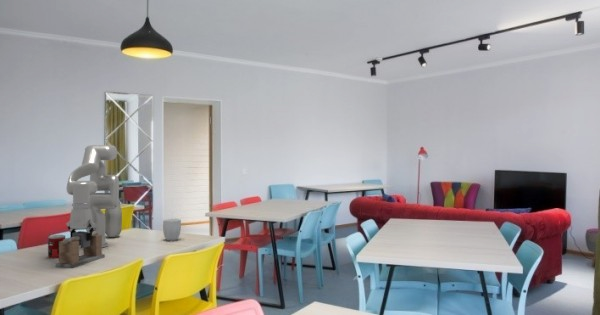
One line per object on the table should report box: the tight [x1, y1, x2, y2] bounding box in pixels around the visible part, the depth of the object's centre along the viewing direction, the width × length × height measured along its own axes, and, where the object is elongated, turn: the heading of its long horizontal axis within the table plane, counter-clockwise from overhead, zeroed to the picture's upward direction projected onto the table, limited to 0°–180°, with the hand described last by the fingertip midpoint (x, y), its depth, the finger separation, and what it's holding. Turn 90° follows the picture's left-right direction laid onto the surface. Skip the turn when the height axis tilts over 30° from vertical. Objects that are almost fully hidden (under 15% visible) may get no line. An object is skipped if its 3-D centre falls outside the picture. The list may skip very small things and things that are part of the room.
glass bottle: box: [104, 199, 123, 238], centre depth 275 cm, size 10×10×28 cm
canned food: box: [47, 234, 66, 259], centre depth 223 cm, size 8×8×11 cm
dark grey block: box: [72, 230, 90, 249], centre depth 214 cm, size 6×5×7 cm
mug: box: [162, 217, 182, 242], centre depth 270 cm, size 15×11×13 cm
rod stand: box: [55, 231, 106, 269], centre depth 214 cm, size 10×22×14 cm, turn 166°
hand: (81, 239), depth 213 cm, fingers open, 9 cm apart
